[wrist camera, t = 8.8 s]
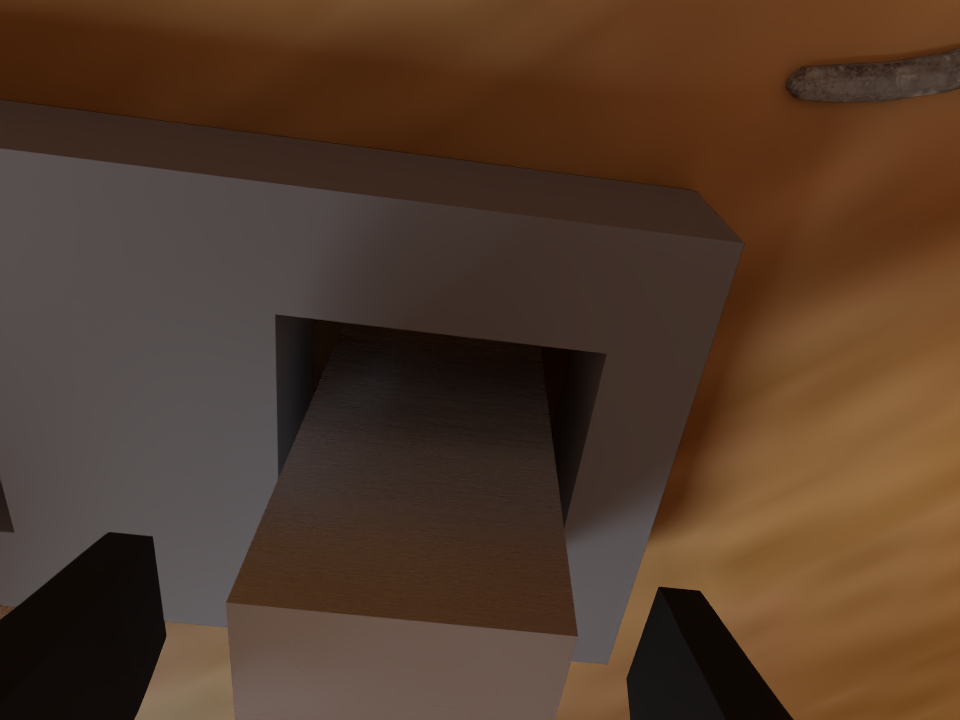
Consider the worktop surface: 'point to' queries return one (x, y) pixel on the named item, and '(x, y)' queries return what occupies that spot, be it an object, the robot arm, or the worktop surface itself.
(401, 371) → the peg
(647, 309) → the socket plate
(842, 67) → the pliers
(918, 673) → the worktop surface
